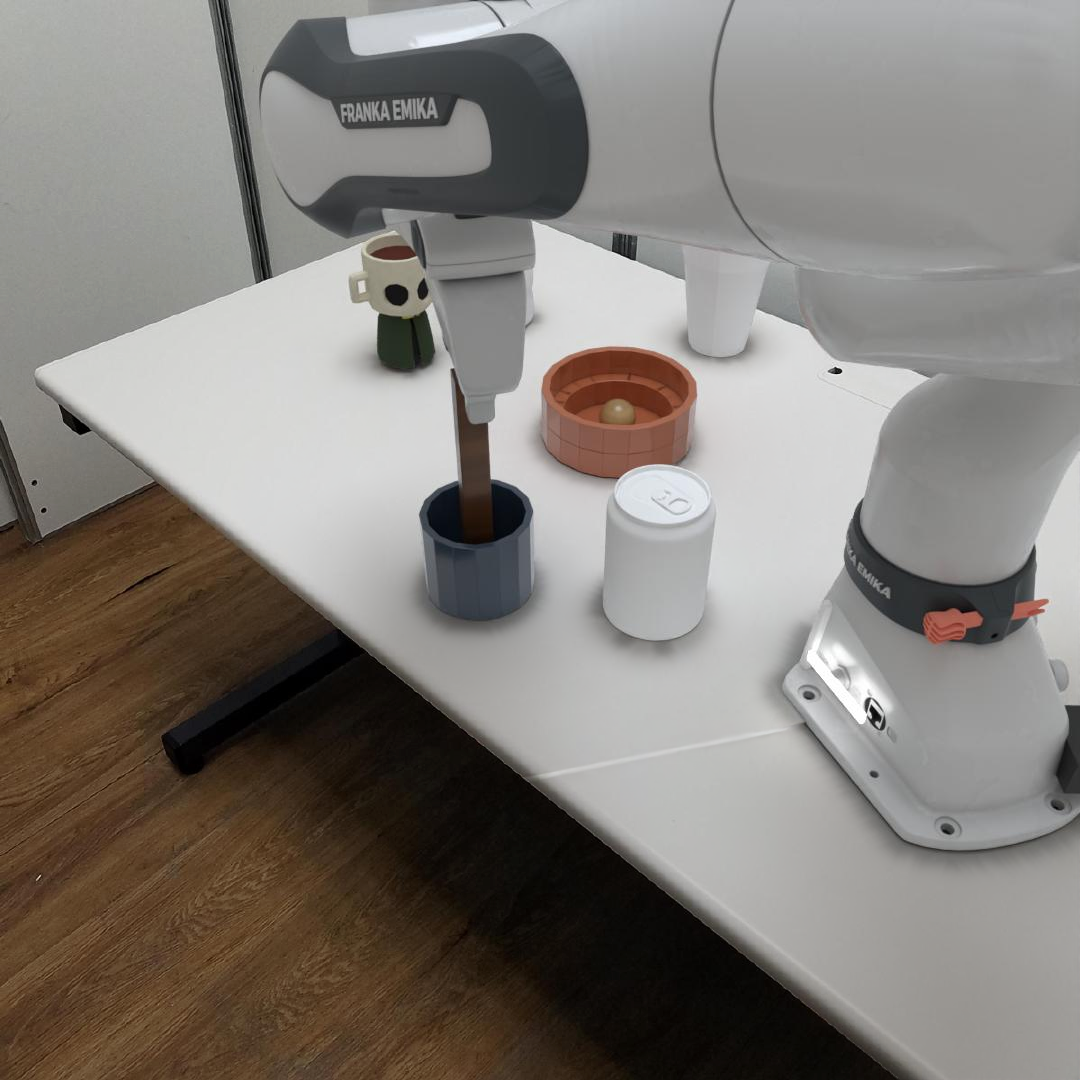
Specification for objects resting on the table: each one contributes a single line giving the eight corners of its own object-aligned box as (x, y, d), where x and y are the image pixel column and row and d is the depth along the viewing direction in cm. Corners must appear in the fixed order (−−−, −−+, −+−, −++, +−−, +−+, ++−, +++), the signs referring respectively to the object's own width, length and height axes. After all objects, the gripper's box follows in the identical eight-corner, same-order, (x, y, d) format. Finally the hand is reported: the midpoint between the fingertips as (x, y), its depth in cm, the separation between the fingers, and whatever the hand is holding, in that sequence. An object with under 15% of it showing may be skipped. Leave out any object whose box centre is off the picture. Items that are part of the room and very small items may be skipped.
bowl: (712, 470, 100) (719, 417, 96) (562, 493, 98) (563, 439, 94) (664, 389, 111) (668, 338, 107) (527, 407, 109) (527, 356, 105)
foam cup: (758, 323, 121) (773, 214, 113) (762, 366, 114) (779, 253, 106) (674, 320, 122) (683, 211, 114) (674, 362, 115) (683, 249, 107)
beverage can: (647, 563, 90) (656, 447, 83) (723, 610, 86) (740, 492, 78) (581, 610, 86) (584, 492, 78) (658, 662, 82) (669, 543, 74)
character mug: (373, 387, 112) (359, 272, 104) (348, 357, 117) (332, 245, 108) (466, 359, 116) (459, 247, 108) (437, 331, 121) (429, 222, 112)
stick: (496, 589, 87) (486, 380, 74) (469, 593, 87) (455, 384, 74) (490, 571, 89) (480, 364, 76) (465, 576, 89) (449, 368, 76)
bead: (640, 440, 103) (642, 409, 101) (604, 445, 102) (605, 414, 100) (629, 420, 106) (631, 389, 103) (594, 425, 105) (595, 394, 103)
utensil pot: (544, 614, 86) (543, 538, 81) (436, 632, 84) (428, 557, 79) (521, 545, 92) (519, 471, 87) (420, 561, 91) (412, 486, 86)
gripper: (385, 137, 74) (403, 316, 83) (431, 268, 58) (447, 470, 67) (475, 129, 75) (483, 306, 84) (542, 256, 60) (543, 456, 69)
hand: (467, 381), depth 75 cm, fingers open, 8 cm apart
